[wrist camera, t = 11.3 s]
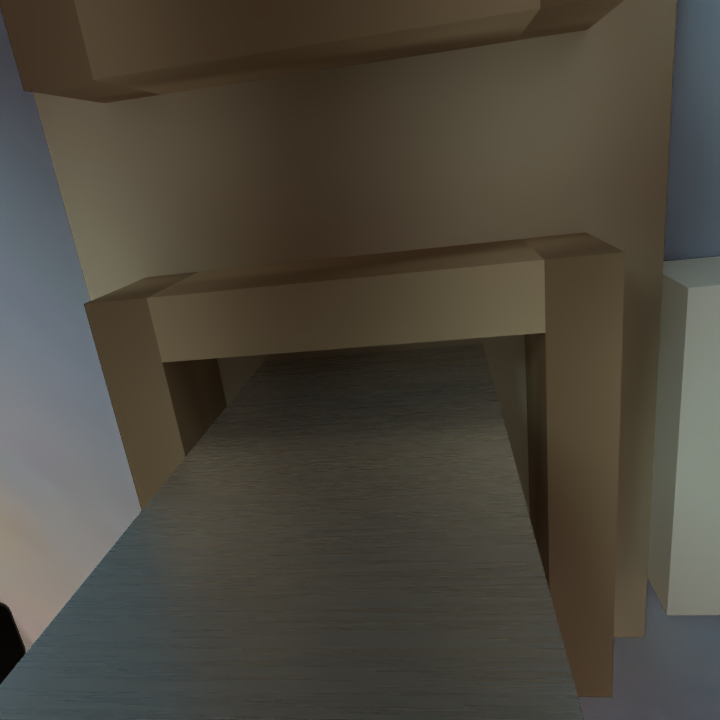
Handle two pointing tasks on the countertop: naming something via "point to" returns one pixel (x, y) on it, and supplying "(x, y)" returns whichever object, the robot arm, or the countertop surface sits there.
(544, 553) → the board
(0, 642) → the robot arm
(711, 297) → the white flat square frame
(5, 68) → the countertop surface
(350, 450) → the block
